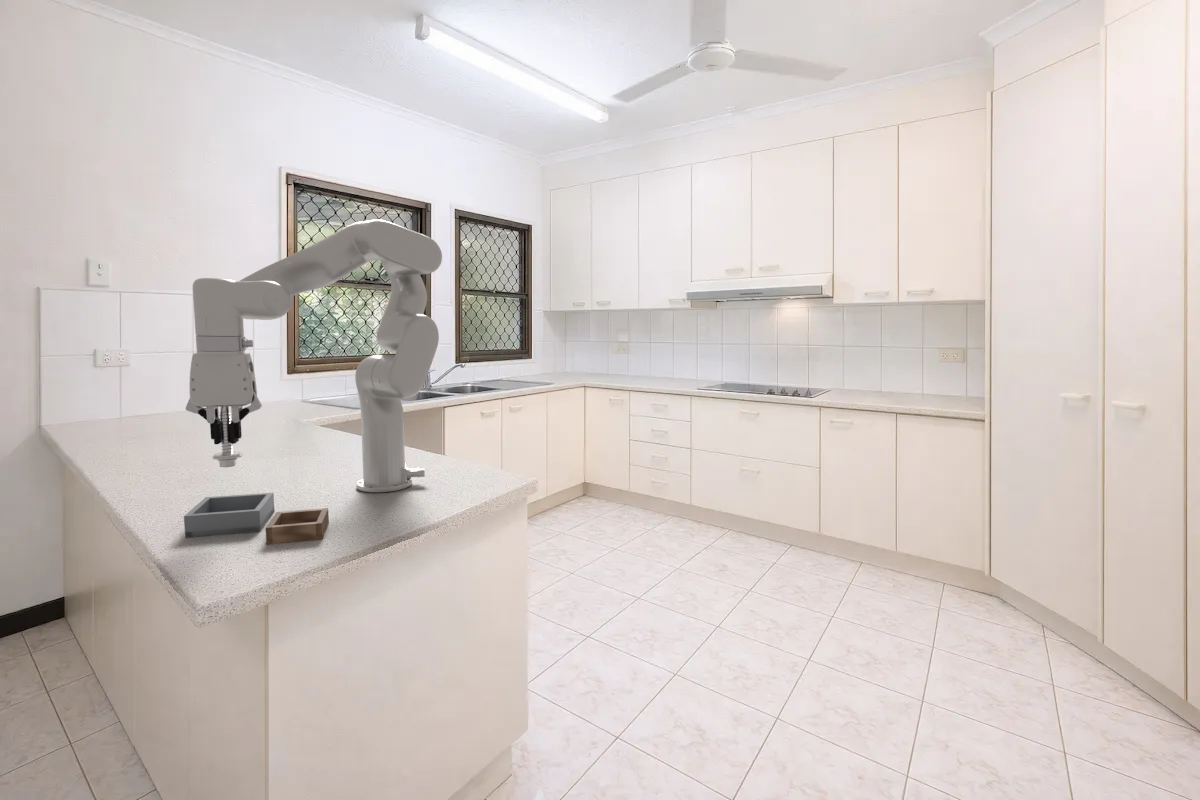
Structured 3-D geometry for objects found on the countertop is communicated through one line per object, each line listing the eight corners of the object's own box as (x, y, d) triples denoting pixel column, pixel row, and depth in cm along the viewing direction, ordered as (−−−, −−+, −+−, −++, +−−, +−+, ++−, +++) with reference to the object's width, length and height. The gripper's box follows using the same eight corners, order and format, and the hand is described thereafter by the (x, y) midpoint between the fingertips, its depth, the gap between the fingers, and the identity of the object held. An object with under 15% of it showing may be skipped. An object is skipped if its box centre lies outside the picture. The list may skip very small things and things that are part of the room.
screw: (209, 466, 109) (237, 461, 113) (218, 470, 106) (247, 465, 110) (204, 398, 107) (233, 396, 111) (213, 400, 104) (243, 398, 108)
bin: (274, 511, 118) (273, 492, 118) (260, 531, 107) (259, 510, 107) (207, 516, 115) (205, 497, 114) (185, 537, 103) (183, 516, 103)
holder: (328, 522, 112) (328, 508, 112) (322, 539, 104) (321, 523, 103) (277, 527, 109) (276, 512, 109) (266, 544, 101) (265, 527, 100)
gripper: (273, 345, 112) (277, 437, 115) (178, 344, 107) (184, 440, 110) (264, 347, 105) (269, 444, 108) (162, 346, 100) (169, 448, 103)
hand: (226, 442), depth 109 cm, fingers closed on screw, 2 cm apart
